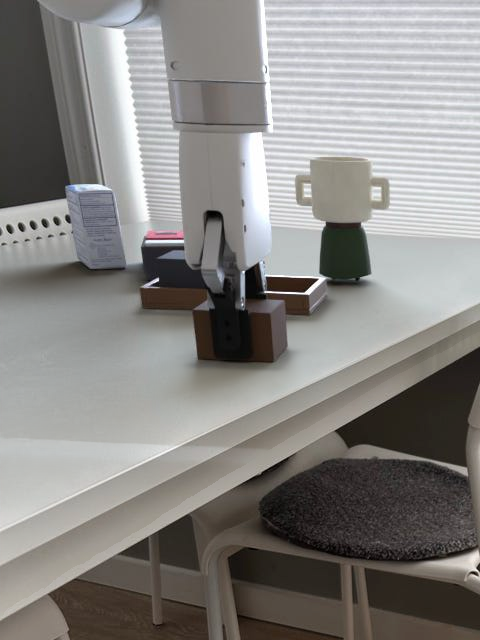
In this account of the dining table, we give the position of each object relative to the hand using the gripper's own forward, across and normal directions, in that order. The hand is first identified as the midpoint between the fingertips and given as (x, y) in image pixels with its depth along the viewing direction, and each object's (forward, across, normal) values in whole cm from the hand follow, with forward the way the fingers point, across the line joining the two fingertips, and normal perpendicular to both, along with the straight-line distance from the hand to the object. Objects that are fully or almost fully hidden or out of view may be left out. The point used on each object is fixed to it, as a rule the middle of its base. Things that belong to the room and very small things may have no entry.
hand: (243, 346), depth 82 cm
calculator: (+1, -39, -16) cm, 42 cm away
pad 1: (0, -21, -10) cm, 23 cm away
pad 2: (0, 0, 0) cm, 0 cm away
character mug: (+1, -36, +3) cm, 36 cm away
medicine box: (+1, -40, -28) cm, 49 cm away
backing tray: (0, -21, -6) cm, 22 cm away
